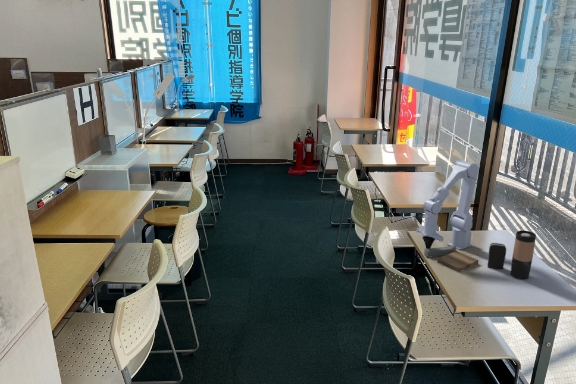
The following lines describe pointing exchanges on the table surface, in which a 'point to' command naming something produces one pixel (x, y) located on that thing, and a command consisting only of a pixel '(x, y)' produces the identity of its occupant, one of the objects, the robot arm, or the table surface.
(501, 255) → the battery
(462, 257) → the stool seat
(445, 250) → the gray rectangular bar
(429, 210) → the robot arm
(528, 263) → the travel mug
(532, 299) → the table surface
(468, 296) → the table surface
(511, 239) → the table surface
